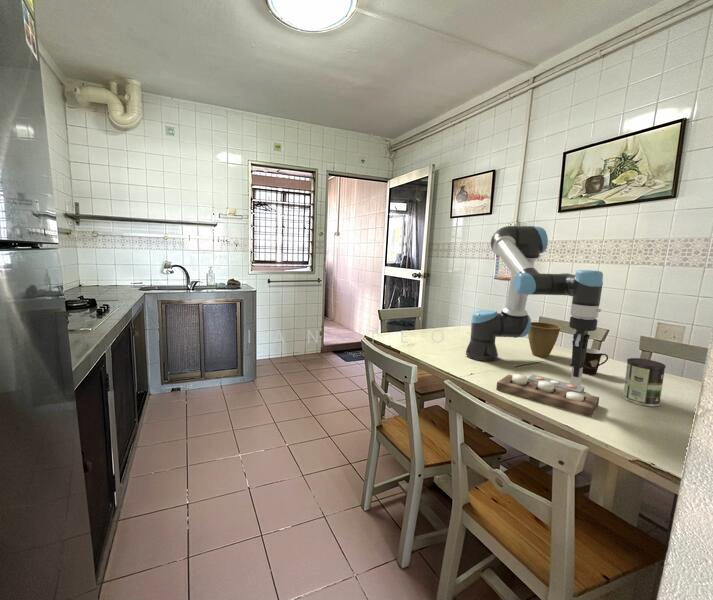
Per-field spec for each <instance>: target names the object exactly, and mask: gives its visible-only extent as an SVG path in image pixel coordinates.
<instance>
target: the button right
mask: <svg viewBox="0 0 713 600" xmlns="http://www.w3.org/2000/svg"><path fill="white" fill-rule="evenodd" d="M566 398H569V399H573V400H576V401H580V402H583V400H584V396H583V395H582V394H579V393H576V392H567V393H566Z"/></svg>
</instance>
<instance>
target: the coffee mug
mask: <svg viewBox="0 0 713 600" xmlns="http://www.w3.org/2000/svg"><path fill="white" fill-rule="evenodd" d="M602 356H605V357H606V358H605V360H604V361H603V362H601V358H602ZM608 360H609V355H608V354H606V353H603V351H601V350H599V349H595V348H590V347H587V350H586V356H585V363H583V364H584V365H586V367H583V370H582V375H583V374H584V375H587V374H588V376H596V375H597V373H598V369H599V367H600V366H601V365H602V366H603V364H605V363H607V361H608ZM600 362H601V363H600Z"/></svg>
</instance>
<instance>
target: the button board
mask: <svg viewBox="0 0 713 600" xmlns="http://www.w3.org/2000/svg"><path fill="white" fill-rule="evenodd" d="M512 375H513V374H507V375H505V376H503V377H502V378H501V379H500V380H498V381H496V391H499V390H500V391H499V392H504V393H506V394H509V393H510V395H514V396H517V397H521V398H524V399H527V400H531V401H534V402H538V403H541V404H544V405H548V406H552V407H554V406H555V408H559V409H562V410H566V411H569V412H572V413H575V414H578V415H581V416H586V417H589V418H592V417H593V416H594V414H595V412H596V411H597V409H598V407H599V403H600V397H599V396H595V395H591V394H589V393H588V394H587V393H580V392H576V391H572V390H568V389H564V388H560V387H556V386H554V392H552V393H547V392H543V391H540V390H538V382H537V381H533V380H529V379H528V378H527V385H517V384H514V383H512ZM567 392H576V393H579V394H582V395H583V396H584V400H583V402H580V401H576V400H573V399H569V398H566V393H567Z"/></svg>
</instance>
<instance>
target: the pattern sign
mask: <svg viewBox="0 0 713 600" xmlns="http://www.w3.org/2000/svg"><path fill="white" fill-rule="evenodd" d="M527 379H529V380H533V381H537V382H538V381H548V382H552V383H553V384H554V386H556V387H560V388H564V389H568V390H572V391H576V392H580V393H584V392H585V386H582V385H581V386H580V387H578V386H574V385H570V383H571V382H566V381H562V380H558V379H553V378H549V377H545V376H540V375H537V374H531V375H530V376H529V377H527ZM584 394H585V393H584Z"/></svg>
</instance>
